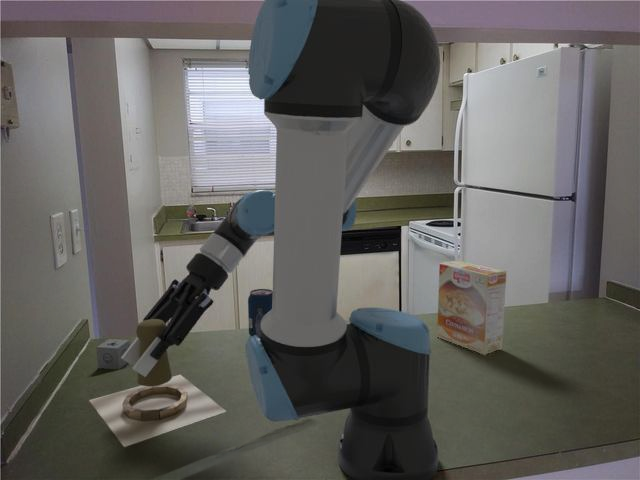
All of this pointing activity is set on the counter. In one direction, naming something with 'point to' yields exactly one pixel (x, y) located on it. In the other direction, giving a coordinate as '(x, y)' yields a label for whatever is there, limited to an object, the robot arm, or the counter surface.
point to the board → (142, 430)
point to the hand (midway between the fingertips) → (133, 366)
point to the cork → (147, 335)
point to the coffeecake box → (471, 305)
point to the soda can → (258, 308)
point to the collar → (160, 413)
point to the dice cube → (112, 353)
